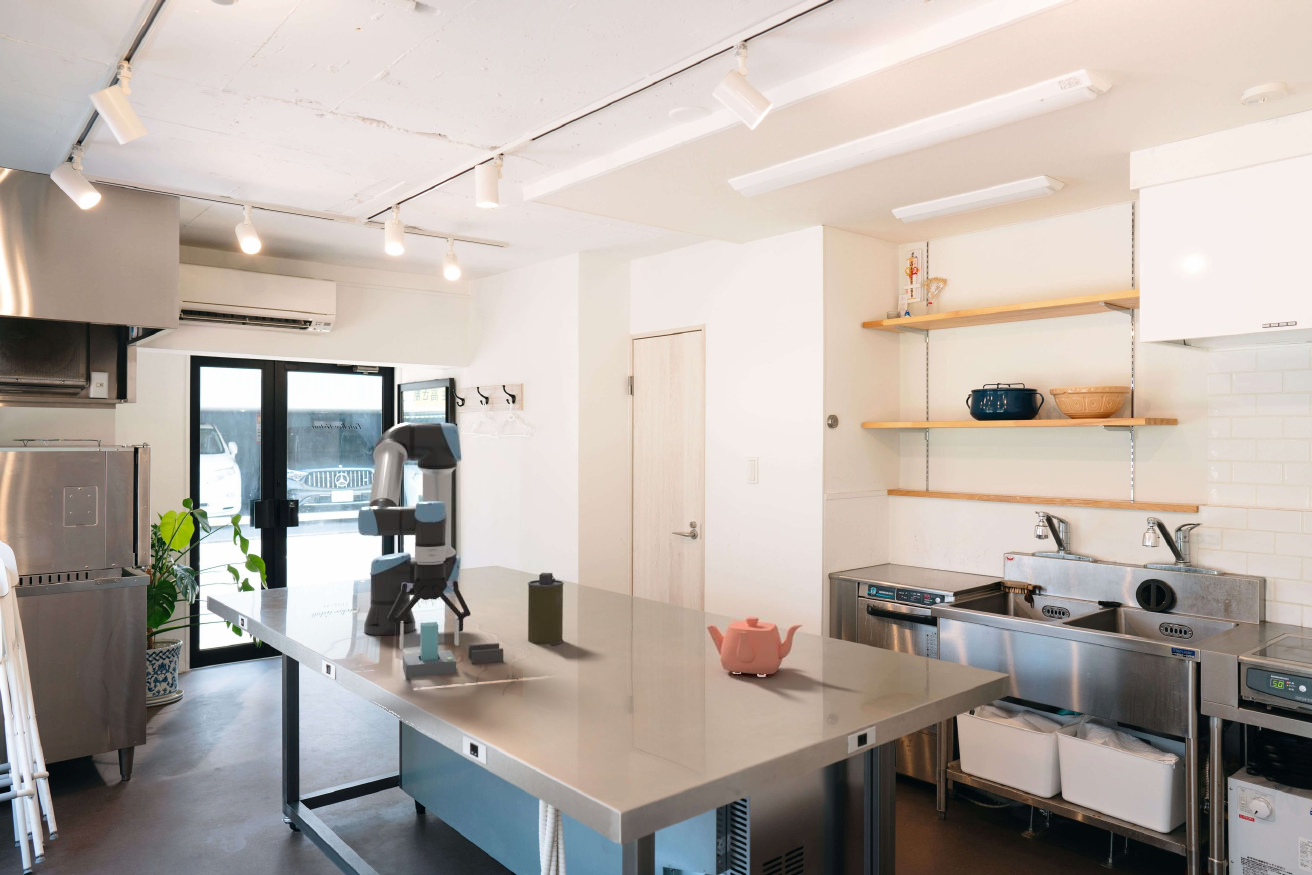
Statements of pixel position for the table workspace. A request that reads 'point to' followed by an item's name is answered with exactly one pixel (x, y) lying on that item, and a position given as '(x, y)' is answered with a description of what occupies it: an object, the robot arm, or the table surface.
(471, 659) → the holster
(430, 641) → the plug
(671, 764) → the table surface
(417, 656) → the port
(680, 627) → the table surface
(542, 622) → the canister
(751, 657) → the teapot
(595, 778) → the table surface
